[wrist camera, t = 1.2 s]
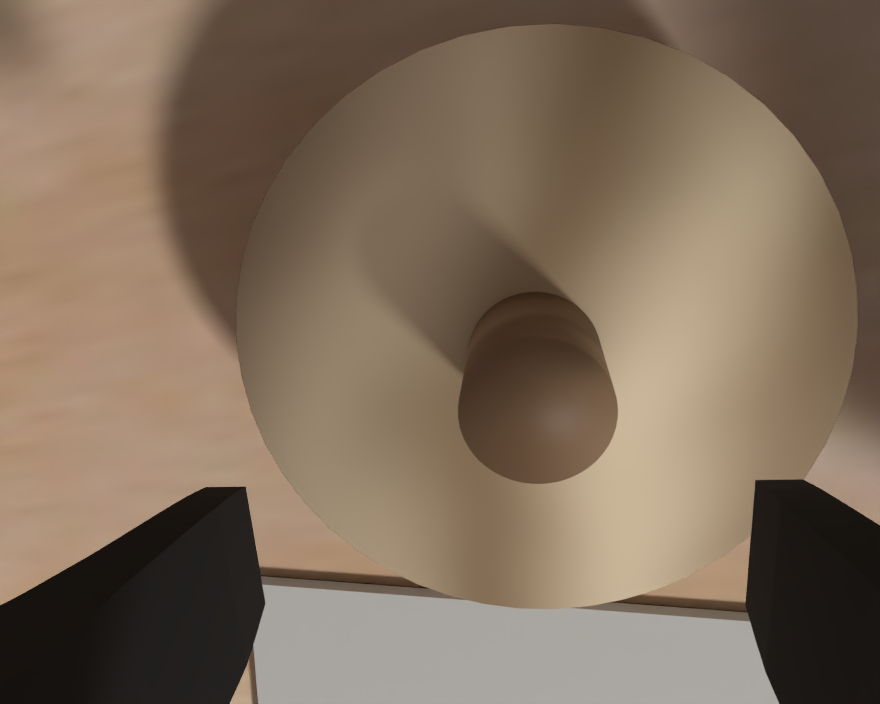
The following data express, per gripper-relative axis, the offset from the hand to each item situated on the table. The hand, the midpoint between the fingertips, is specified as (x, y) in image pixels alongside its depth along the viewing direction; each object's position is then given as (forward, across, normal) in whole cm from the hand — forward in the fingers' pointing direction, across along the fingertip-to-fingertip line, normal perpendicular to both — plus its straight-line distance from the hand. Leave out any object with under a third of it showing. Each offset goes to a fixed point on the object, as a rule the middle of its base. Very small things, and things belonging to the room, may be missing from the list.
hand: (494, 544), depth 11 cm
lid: (+7, -1, -1) cm, 7 cm away
